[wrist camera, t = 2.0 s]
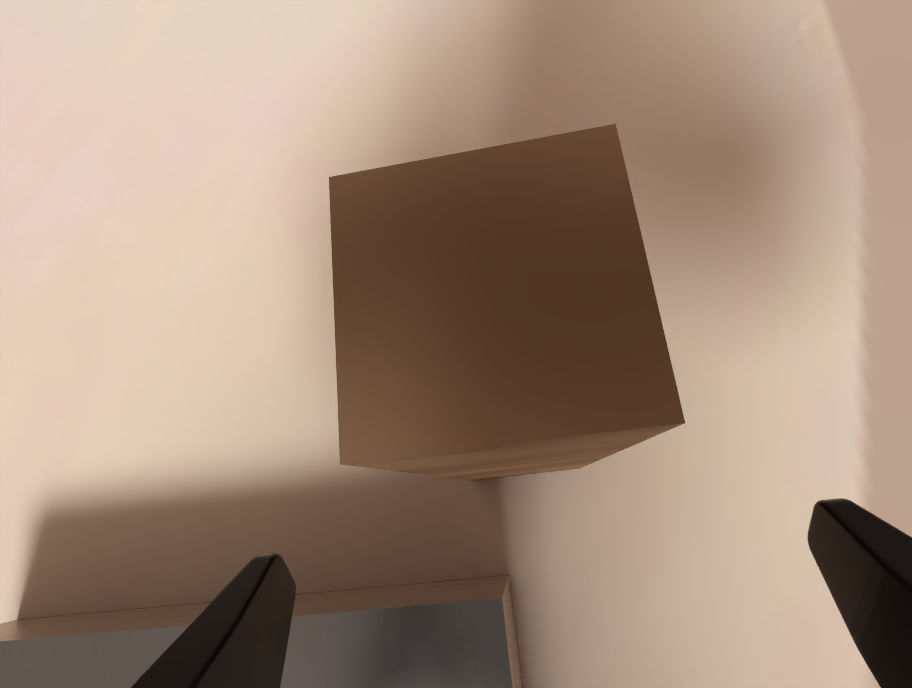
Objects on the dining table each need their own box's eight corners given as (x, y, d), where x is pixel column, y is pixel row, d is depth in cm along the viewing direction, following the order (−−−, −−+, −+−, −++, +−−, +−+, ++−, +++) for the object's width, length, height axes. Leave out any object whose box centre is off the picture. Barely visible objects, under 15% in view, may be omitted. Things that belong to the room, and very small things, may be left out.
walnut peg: (579, 467, 19) (685, 422, 6) (473, 480, 19) (339, 464, 6) (561, 364, 20) (615, 124, 7) (461, 378, 21) (329, 177, 7)
